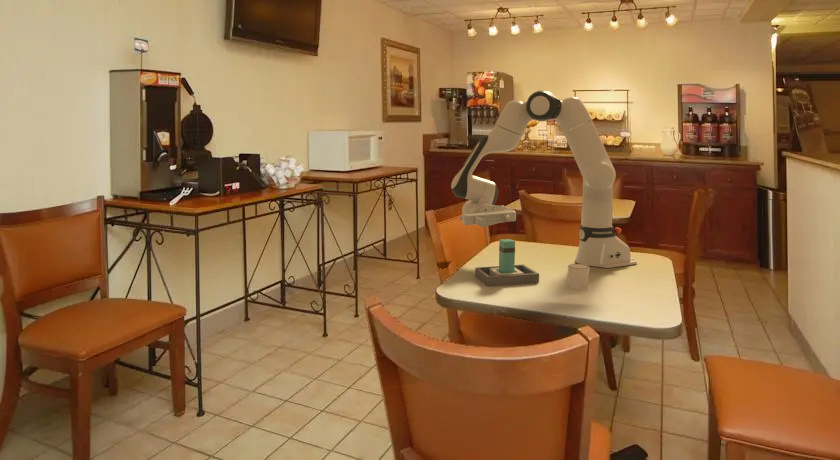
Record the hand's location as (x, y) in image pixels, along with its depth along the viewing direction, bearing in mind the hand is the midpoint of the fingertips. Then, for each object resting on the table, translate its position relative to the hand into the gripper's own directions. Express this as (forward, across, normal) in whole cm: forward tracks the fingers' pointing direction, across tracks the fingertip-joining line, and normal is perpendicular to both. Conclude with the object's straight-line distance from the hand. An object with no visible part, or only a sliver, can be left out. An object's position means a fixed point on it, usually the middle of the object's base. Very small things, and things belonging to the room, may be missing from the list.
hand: (495, 220), depth 201 cm
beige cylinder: (+28, +17, +19) cm, 38 cm away
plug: (+13, -2, +18) cm, 22 cm away
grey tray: (+13, -2, +18) cm, 23 cm away
